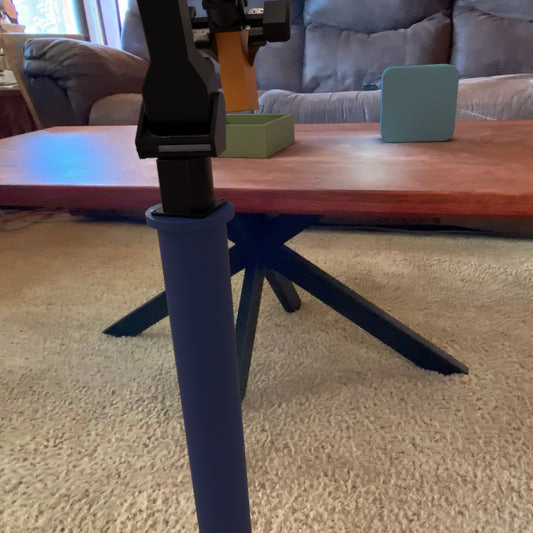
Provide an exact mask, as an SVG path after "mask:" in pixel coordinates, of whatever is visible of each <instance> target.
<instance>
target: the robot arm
mask: <svg viewBox="0 0 533 533" xmlns="http://www.w3.org/2000/svg"><path fill="white" fill-rule="evenodd" d="M136 5H137V10H138V13H139V18H140V22H141V27H142V31H143V35H144V40H145V43H146V47H147V53H148V58H149V64H148V67H147V70H146V73H145V75H144V79H143V82H142V85H141V87H140V94H141V98H142V99H141V104H140V110H139V115H138V121H137V126H136V130H135V131H136V132H135V136H134V137H135V138H134V145H135V151H136V153H137V156H138V159H139V160H146V159H155V162H156V171H157V179H158V186H159V194H160V203H162V205H161V206H159V207H157V208H155V209H154V210H152V211H151V216H162V217H176V218H190V219H204V218H206V217H207V216H209V215H210V214H212V213H213V212H215V211H216V210H218V209H219V208H221V207H222V206H224V205H225V204H227V201H228V199H227V198H220V199H219V197H215V185H214V172H213V163H212V158H220V157H219V156H220V155H221V154H222V153H223V152H224V151H225V150H226V114H227V112H226V105H225V99H224V95H223V91H220V90H219V86H218V81H217V75H216V66H215V63H214V61H215V62H216V63H217V64H219V60H218V52H217V44H216V37H215V33H224V32H241V31H248V32H249V33H248V43H247V47H248V57H249V64H250V66H251V67H253V64H254V65H255V60H256V56H257V54H258V52H259V50H260V48H262V47H266V46H267V44H268V43H269V44H271V43H287V42H288V41H290V40H291V38H292V20H293V10H292V4H291V2H290V1H289V0H265V1H263V7H254V8H250V9H249V10H248V11H246V8H248V7H249V0H201V7H202V10H203V11H205V13H206V16H197V10H196V6H193V5H192V6H189V3H188V0H136ZM196 16H197V17H196ZM200 51H201V52H202V53H203V54H205V55H207V56H203V54H202V53H201V52H200Z"/></svg>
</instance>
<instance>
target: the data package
mask: <svg viewBox="0 0 533 533" xmlns="http://www.w3.org/2000/svg"><path fill="white" fill-rule="evenodd" d="M459 82H460V71H459V69H458V68H457V67H456V66H455V65H454V64H448V63H439V64H418V65H396V66H395V65H394V66H388V67H387V68H385V69H384V70H383V72H382V74H381V82H380V106H379V107H380V109H379V110H380V111H379V133H380V136H381V139H382V140H383V141H384V142H386V143H419V142H420V143H421V142H422V143H423V142H424V143H425V142H426V143H427V142H446V141H449V140H450V139H451V138H452V137H453V135H454V134H455V128H456V127H455V126H456V115H457V105H458V104H457V103H458V95H459V94H458V93H459Z"/></svg>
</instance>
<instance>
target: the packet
mask: <svg viewBox="0 0 533 533" xmlns="http://www.w3.org/2000/svg"><path fill="white" fill-rule="evenodd" d="M248 33H249V32H248V31H241V32H224V33H215V37H216V44H217V52H218V60H219V63H218V66H219V75H220V81H221V82H220V83H221V88H222V90H221V91H222V93H223V95H224V99H225V105H226V113H238V112H239V113H240V112H246V111H247V112H248V111H256V110H260V102H259V94H258V92H259V91H258V86H257V85H258V84H257V76H256V67H255V63H254V64H253V67H251V66H250V64H249V57H248V47H247V43H248Z"/></svg>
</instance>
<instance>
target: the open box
mask: <svg viewBox="0 0 533 533" xmlns="http://www.w3.org/2000/svg"><path fill="white" fill-rule="evenodd" d="M295 135H296V134H295V113H226V150H225V151H224V152H223V153H222V154H221V155H220V156H219V157H218V158H247V159H248V158H249V159H250V158H251V159H255V158H256V159H267V158H269V157H272V156H273V155H275V154H277V153H279V152H280V151H282V150H283V149H285V148H287V147H289V146H290V145H292V144H295V142H296V140H295V139H296V136H295Z"/></svg>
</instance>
